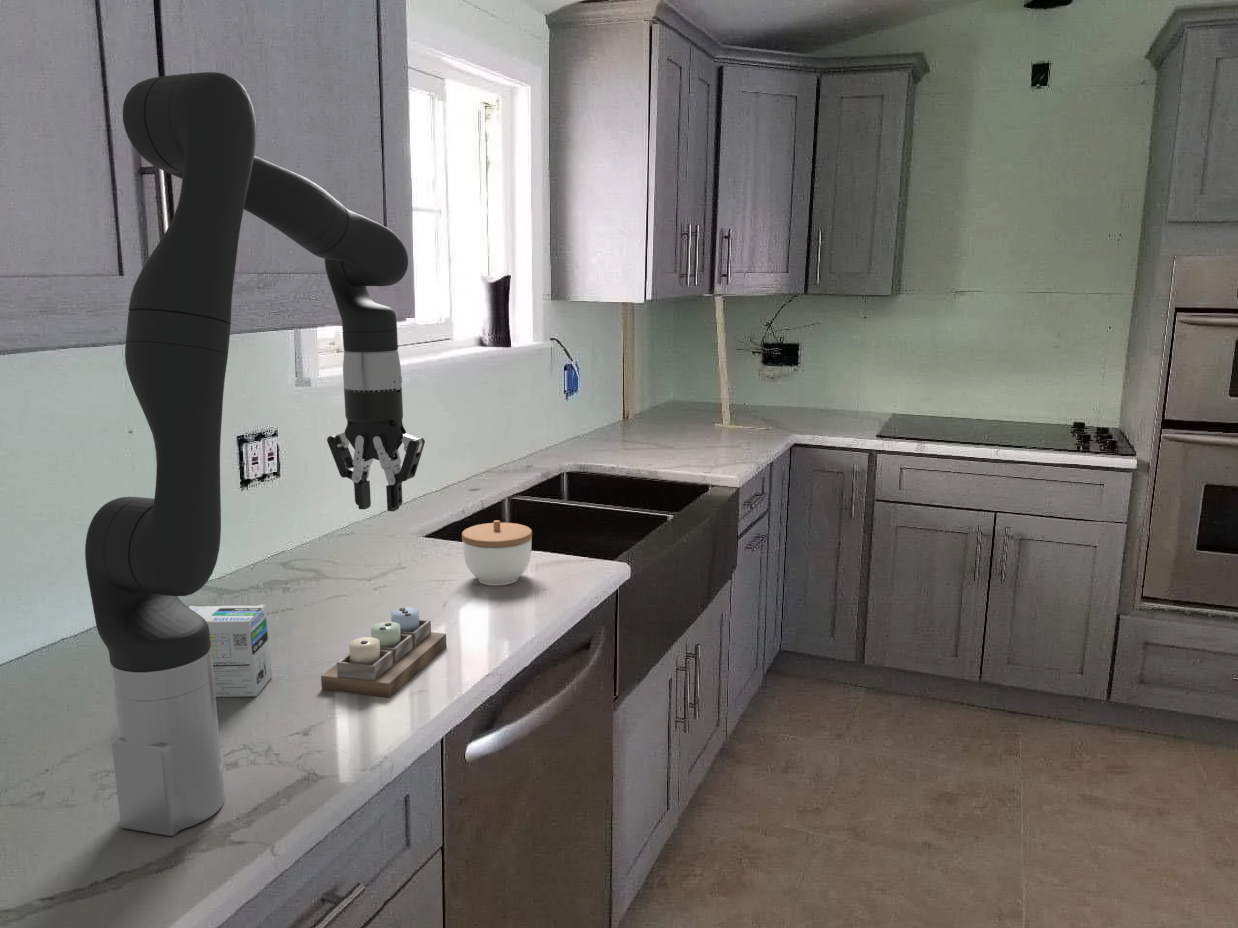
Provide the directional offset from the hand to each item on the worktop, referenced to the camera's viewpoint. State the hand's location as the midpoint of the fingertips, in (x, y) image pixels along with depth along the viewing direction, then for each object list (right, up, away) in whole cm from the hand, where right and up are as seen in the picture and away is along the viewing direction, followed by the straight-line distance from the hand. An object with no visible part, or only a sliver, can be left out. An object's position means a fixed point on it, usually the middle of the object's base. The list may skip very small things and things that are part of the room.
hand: (379, 508), depth 130 cm
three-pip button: (+2, -18, +10) cm, 21 cm away
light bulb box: (-20, -24, -2) cm, 32 cm away
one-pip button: (-2, -20, -2) cm, 21 cm away
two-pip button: (0, -19, +4) cm, 20 cm away
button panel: (0, -23, +5) cm, 23 cm away
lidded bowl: (+11, -15, +43) cm, 47 cm away
